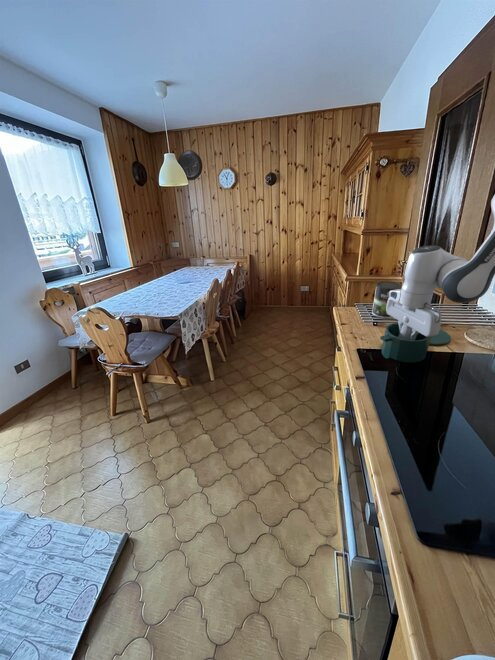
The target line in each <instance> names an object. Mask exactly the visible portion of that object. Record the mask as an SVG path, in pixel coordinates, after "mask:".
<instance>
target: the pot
mask: <svg viewBox="0 0 495 660" xmlns="http://www.w3.org/2000/svg"><path fill="white" fill-rule="evenodd" d="M399 330H400V328H399V324H398V322H393V323H389V324H388V325H386V327H385V329H384V335H380V338H379V339H380V340H381V341H382V346H381V355H382V357H383V358H385V359H393V360H394V361H398V362H403V363H420V362H422V361H424V360H426V357H427V355H428V354H427V353H428V351H429V347H430V344H429V343H430V339H431V337H426V336H424V335H423V334H421V333H418V334H417V335H416V339H415V340H407V339H402V338H399V337H398V335H399Z"/></svg>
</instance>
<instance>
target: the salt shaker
mask: <svg viewBox="0 0 495 660" xmlns="http://www.w3.org/2000/svg"><path fill="white" fill-rule="evenodd" d="M403 321H404V322H406V323H408V322H409V318H408V317H407V316H404V318H403ZM412 333H413V331H412V328H411V327H409V326H407V325H406V324H404V325H403V327H402V329H401V331H400V333H399V335H398V337H399V338H402V339H407V340H410V339H409V336H410V334H412Z"/></svg>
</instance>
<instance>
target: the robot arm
mask: <svg viewBox="0 0 495 660" xmlns="http://www.w3.org/2000/svg"><path fill="white" fill-rule="evenodd" d="M490 207H491V212H492V214H493V220H494V221H493V227H492V230H491V232H490V234H489V235H487V237H486V239H485V240H484V242H482V244H481V245H480V247H479V248H478V249H477V251H476V252H475V253H474V255H473V256H472V257H471V258H470V259H469V260H468V259H467V258H464V257H462V256H457V255H455V254H452V253H450V252H448V251H446V250H445V249H444V248H442V247H441V246H439V245H423V246H418V247H416V248H414V249H413V250H412V251H411V253H409V257H408V259H407V262H406V266H405V269H404V273H403V275H404V276H403V278H404V282H403V284H402V288H401V289H397V290H392V291H390V292H389V296H390V297H389V298H388V301H387V307H386V312H387V314H388V315H390V316H392V317H393V318H394V319H395V320H397V323H398V324H399V328H400V330H399V333H400V331H401V329H402V327H403V325H404V324H406V325H407V326H409V327H411V328H412V331H413V333H412V334H410V336H409V339H410V340H415V339H416V335H417V334H418V333H421V334H423V335H424V336H426V337H432V336H436V335H438V334H439V331H440V330H441V324H442V312H441V311H440V309H439V308H438V307H436V306H433V305H431V304H432V300H433V296H434V292H435V290H437V289H441V291H442V292H443V294H444V295H445V297H446V299H448V300H449V301H450V302H453V303H456V304H466V303H468V304H469V303H471V302H475V301H477V300H478V299H481V298H482V297H483V296H484V295H485V294H486V293H487V292H488V290H489V289H490V287H491V285H492V281H493V279H494V277H495V194H494V195H493V197H492V199H491V201H490ZM404 316H407V317H408V318H409V322H408V323H406V322H404V321H403V318H404Z"/></svg>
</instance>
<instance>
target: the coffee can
mask: <svg viewBox="0 0 495 660" xmlns="http://www.w3.org/2000/svg"><path fill="white" fill-rule="evenodd" d="M402 286H403V284H401V283H399V282H395V281H388V280H385V281H383V280H382V281H378V282H376V284H375V292H374V299H373V303H372V304H373V305H372V310H371V314H372V315H373V316H374V317H376V318H380V319H393V318H394V317H392V316H390V315H388V314H387V312H386V307H387V301H388V298H389V297H390V296H389V292H390V291H392V290H397V289H402Z"/></svg>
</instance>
